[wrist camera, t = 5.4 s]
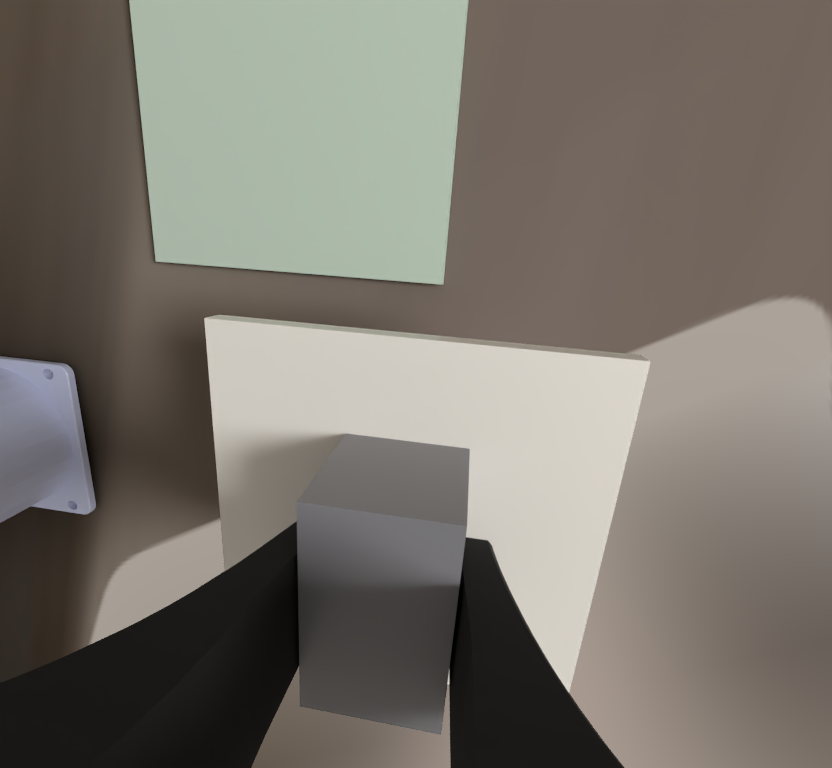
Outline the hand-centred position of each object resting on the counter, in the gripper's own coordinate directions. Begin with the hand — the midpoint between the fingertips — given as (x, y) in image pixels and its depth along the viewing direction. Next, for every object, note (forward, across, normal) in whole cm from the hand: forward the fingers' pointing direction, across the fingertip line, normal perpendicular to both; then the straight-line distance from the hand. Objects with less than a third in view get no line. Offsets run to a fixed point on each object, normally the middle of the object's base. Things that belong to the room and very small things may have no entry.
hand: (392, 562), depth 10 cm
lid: (+2, 0, 0) cm, 2 cm away
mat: (+9, +6, -12) cm, 16 cm away
